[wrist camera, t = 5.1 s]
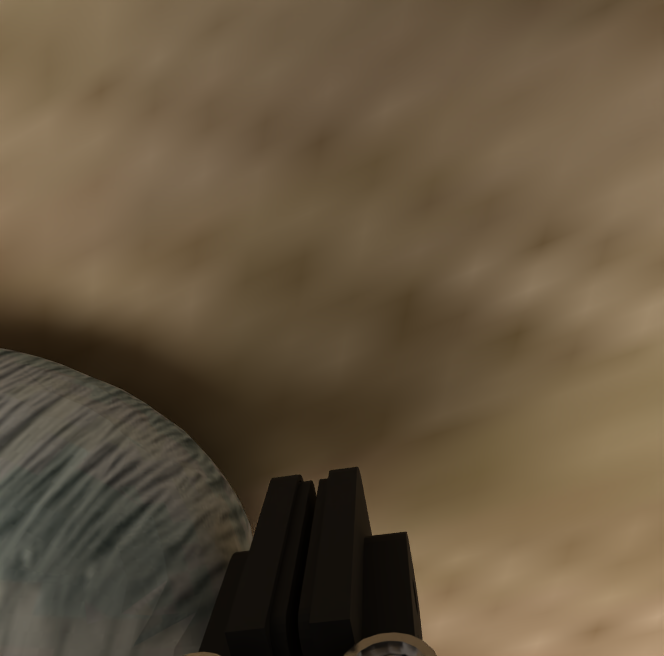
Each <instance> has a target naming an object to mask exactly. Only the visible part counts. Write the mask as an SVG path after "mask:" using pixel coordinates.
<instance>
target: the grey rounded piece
mask: <svg viewBox="0 0 664 656" xmlns="http://www.w3.org/2000/svg"><path fill="white" fill-rule="evenodd" d="M252 540H253V537H252V532H251V527H250V523H249V521H248V518H247V516H246V514H245V511H244V509H243V507H242V505H241V502H240V501H239V499H238V497H237V496H236V494H235V492H234V491H233V489H232V487H231V486H230V484H229V482H228V481H227V479H226V478H225V477H224V475H223V474H222V473H221V471H220V470H219V469H218V468H217V466H216V465H215V464H214V462H213V461H212V460H211V458H210V457H209V456H208V455H207V454H206V453H205V452H204V451H203V450H202V449H201V448H200V447H199V446H198V444H197V443H196V442H195V441H194V440H193V439H192V438H191V437H190V436H189V435H188V434H187V433H186V432H185V431H184V430H183V429H181V428H180V427H179V426H177V425H176V424H174V423H173V422H171V421H170V420H169V419H167V418H166V417H164V416H163V415H161V414H160V413H159V412H157V411H156V410H154V409H153V408H152V407H150V406H149V405H148V404H146V403H144V402H143V401H141V400H139V399H138V398H136V397H134V396H133V395H131V394H129V393H128V392H126V391H124V390H123V389H121V388H118V387H116V386H113V385H111V384H108V383H106V382H104V381H101V380H98V379H95V378H93V377H91V376H88V375H86V374H84V373H81V372H79V371H77V370H74V369H72V368H69V367H67V366H65V365H62V364H60V363H57V362H54V361H51V360H48V359H45V358H41V357H38V356H34V355H30V354H26V353H22V352H18V351H13V350H8V349H3V348H0V656H184V655H187V654H190V653H198V651H199V649H200V646H201V643H202V640H203V637H204V634H205V631H206V628H207V625H208V622H209V620H210V617H211V614H212V611H213V608H214V605H215V602H216V599H217V596H218V593H219V590H220V588H221V585H222V582H223V579H224V576H225V573H226V570H227V567H228V564H229V561H230V559H231V557H232V555H233V554H234V553H235V552H241V551H249V550H250V546H251V543H252Z"/></svg>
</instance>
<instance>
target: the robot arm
mask: <svg viewBox="0 0 664 656" xmlns="http://www.w3.org/2000/svg"><path fill="white" fill-rule="evenodd" d="M184 656H437V655H436V653H435V651H434V650H433V649H432V648H431V647H430V646H429V645H428V644H426V643H425V642H424V641H423V640H422V630H421V620H420V611H419V603H418V596H417V589H416V582H415V575H414V569H413V563H412V557H411V552H410V546H409V540H408V535H407V532H399V533H391V534H382V535H374V536H372V533H371V528H370V522H369V517H368V512H367V506H366V501H365V496H364V490H363V485H362V480H361V475H360V471H359V468H358V467H352V468H345V469H337V470H330V471H329V477H328V478H327V479H320V480H319V485H318V491H317V497H316V492H315V488H314V484H313V482H312V481H305V482H304V481H303V478H302V476H301V475H292V476H285V477H277V478H272V479H271V481H270V484H269V487H268V491H267V494H266V497H265V501H264V504H263V507H262V510H261V514H260V517H259V520H258V524H257V527H256V530H255V533H254V537H253V540H252V543H251V546H250V550H249V551H241V552H235V553H234V554H233V555H232V557H231V559H230V561H229V564H228V567H227V570H226V573H225V576H224V579H223V582H222V585H221V588H220V590H219V593H218V596H217V599H216V602H215V605H214V608H213V611H212V614H211V617H210V620H209V622H208V625H207V628H206V631H205V634H204V637H203V640H202V643H201V646H200V649H199V651H198V653H190V654H187V655H184Z"/></svg>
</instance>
